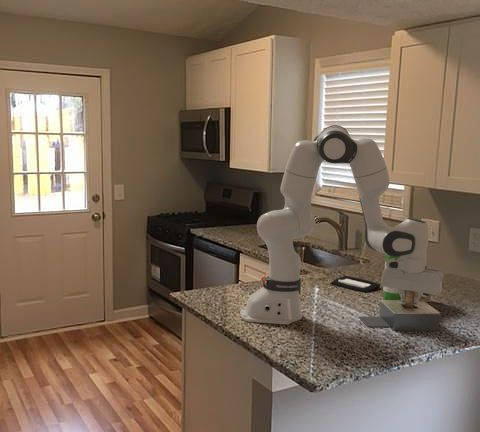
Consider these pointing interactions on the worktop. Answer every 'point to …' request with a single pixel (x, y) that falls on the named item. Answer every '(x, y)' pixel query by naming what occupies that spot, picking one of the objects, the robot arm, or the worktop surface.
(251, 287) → the worktop surface
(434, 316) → the grey box with hole
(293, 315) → the robot arm
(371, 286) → the light switch
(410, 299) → the tan rounded peg
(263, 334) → the worktop surface
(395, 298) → the wine bottle
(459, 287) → the worktop surface
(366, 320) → the mat
